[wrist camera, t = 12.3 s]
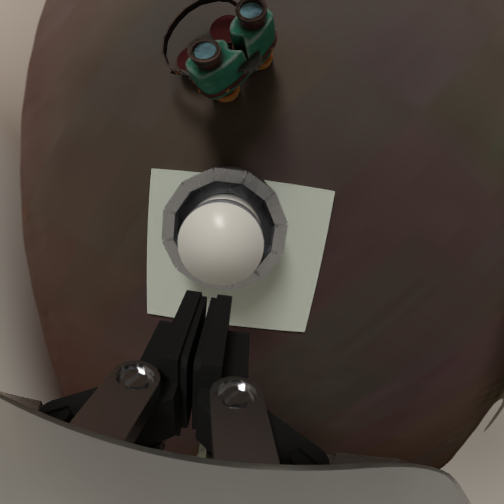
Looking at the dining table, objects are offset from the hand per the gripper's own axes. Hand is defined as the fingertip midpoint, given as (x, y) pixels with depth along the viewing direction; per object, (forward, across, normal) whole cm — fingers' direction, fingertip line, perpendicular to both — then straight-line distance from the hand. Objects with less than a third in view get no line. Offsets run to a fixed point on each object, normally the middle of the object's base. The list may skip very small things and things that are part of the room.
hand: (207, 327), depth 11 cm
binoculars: (+20, +4, -16) cm, 26 cm away
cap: (+16, +1, 0) cm, 16 cm away
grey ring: (+20, +1, 0) cm, 20 cm away
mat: (+20, 0, +4) cm, 20 cm away
